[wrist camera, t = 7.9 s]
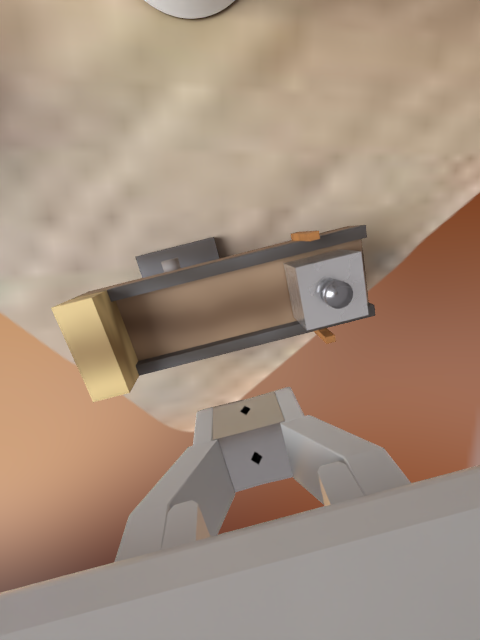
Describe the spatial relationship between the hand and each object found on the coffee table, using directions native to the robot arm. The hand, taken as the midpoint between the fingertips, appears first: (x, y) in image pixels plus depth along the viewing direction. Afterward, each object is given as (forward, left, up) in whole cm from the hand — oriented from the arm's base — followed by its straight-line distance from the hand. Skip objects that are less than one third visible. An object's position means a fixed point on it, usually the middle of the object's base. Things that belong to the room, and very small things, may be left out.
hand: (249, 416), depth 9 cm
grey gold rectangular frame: (+1, +1, -27) cm, 27 cm away
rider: (+1, +8, -17) cm, 19 cm away
